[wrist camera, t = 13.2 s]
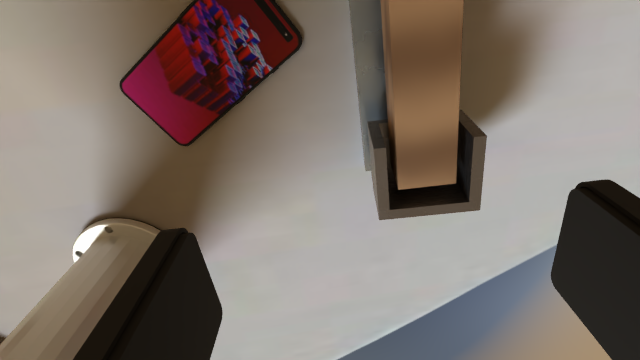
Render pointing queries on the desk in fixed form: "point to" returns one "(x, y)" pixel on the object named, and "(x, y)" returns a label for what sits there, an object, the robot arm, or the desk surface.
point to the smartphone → (209, 63)
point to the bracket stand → (377, 135)
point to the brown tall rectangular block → (422, 88)
